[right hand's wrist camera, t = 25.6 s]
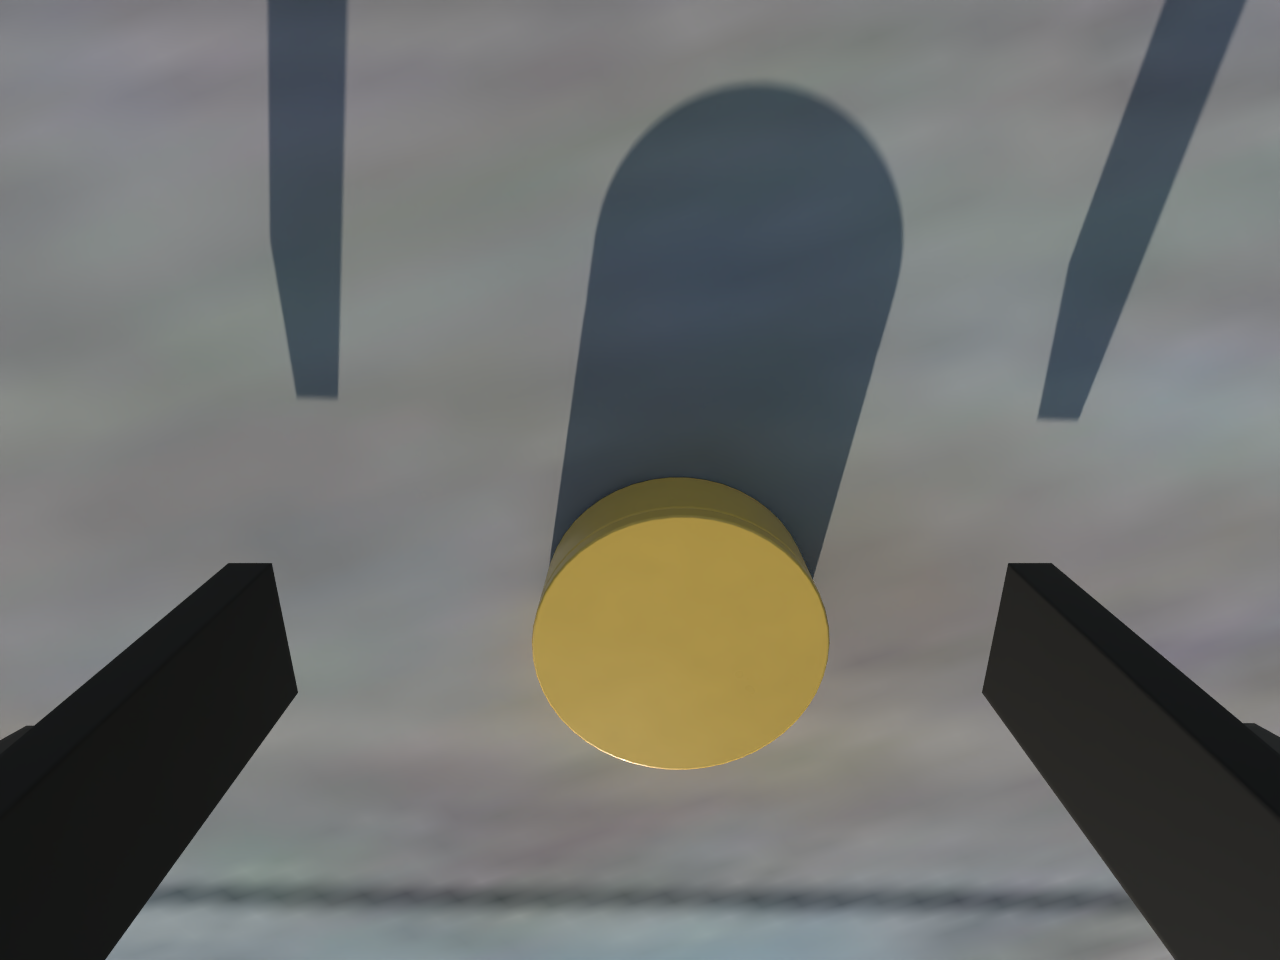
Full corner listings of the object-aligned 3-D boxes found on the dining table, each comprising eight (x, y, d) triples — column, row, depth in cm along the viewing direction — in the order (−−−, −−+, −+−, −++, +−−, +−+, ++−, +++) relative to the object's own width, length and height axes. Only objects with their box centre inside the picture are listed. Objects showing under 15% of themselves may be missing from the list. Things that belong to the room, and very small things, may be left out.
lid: (491, 586, 14) (469, 639, 12) (692, 420, 13) (700, 452, 11) (662, 746, 15) (664, 814, 14) (858, 609, 14) (889, 664, 12)
